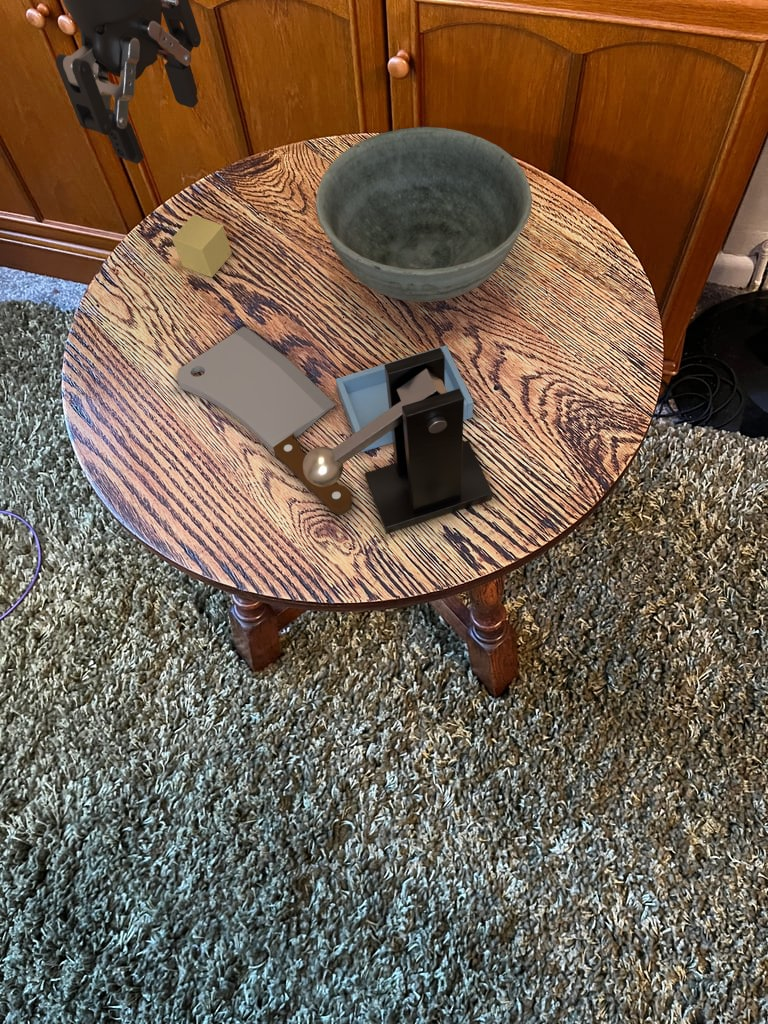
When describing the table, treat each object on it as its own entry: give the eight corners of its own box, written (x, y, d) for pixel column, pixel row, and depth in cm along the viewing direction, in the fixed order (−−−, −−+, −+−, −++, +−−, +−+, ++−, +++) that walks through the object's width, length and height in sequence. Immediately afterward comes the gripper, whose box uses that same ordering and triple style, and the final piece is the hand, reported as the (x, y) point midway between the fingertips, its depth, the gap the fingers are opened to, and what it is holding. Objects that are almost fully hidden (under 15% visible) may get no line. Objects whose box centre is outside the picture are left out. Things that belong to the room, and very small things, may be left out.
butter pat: (211, 277, 84) (201, 249, 80) (182, 266, 85) (171, 238, 81) (232, 253, 85) (223, 224, 82) (203, 243, 86) (193, 214, 83)
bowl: (289, 291, 82) (270, 215, 73) (404, 178, 89) (399, 96, 80) (450, 377, 75) (451, 305, 66) (561, 247, 82) (575, 166, 73)
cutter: (385, 534, 68) (370, 434, 54) (365, 479, 70) (345, 370, 56) (492, 499, 68) (504, 392, 55) (468, 446, 71) (473, 331, 57)
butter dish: (360, 453, 72) (357, 438, 70) (338, 394, 75) (335, 378, 73) (472, 417, 73) (473, 401, 71) (446, 361, 76) (446, 344, 74)
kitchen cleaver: (405, 462, 70) (320, 527, 67) (405, 468, 71) (321, 532, 68) (247, 319, 80) (166, 370, 77) (249, 326, 81) (169, 377, 77)
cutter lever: (325, 498, 62) (300, 488, 59) (314, 467, 63) (290, 455, 61) (457, 409, 57) (436, 393, 55) (442, 377, 59) (421, 360, 56)
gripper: (110, -121, 61) (174, 77, 75) (-13, -27, 55) (81, 168, 70) (186, -105, 59) (237, 96, 73) (66, -5, 53) (147, 191, 67)
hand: (161, 131), depth 71 cm, fingers open, 8 cm apart
